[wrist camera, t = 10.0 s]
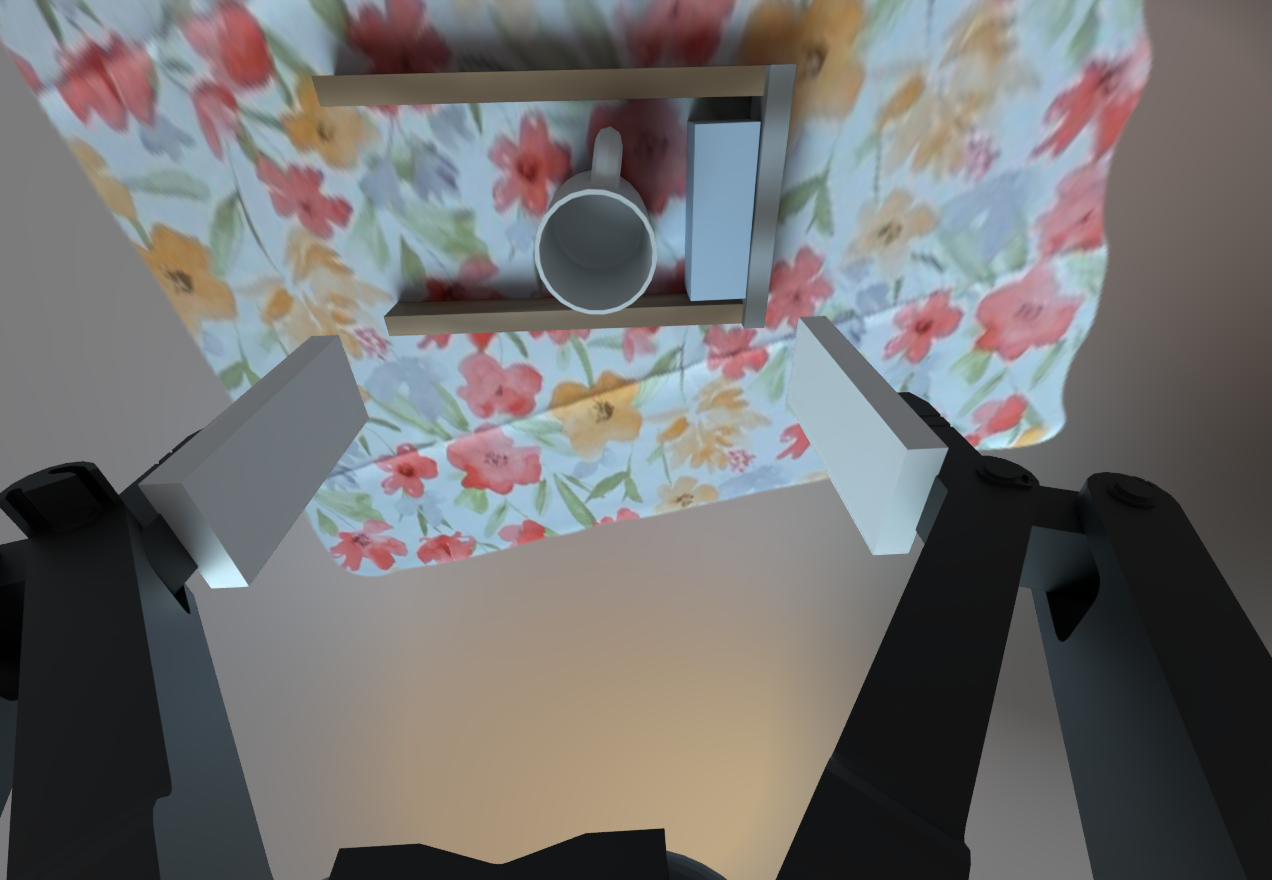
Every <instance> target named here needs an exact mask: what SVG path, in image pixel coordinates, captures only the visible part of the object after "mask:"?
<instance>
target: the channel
mask: <svg viewBox="0 0 1272 880" xmlns="http://www.w3.org/2000/svg"><path fill="white" fill-rule="evenodd" d="M796 65H797V64H782V65H759V66H716V67H674V68H631V69H589V70H546V71H504V72H461V73H419V74H376V75H334V76H311V77H312V80H313V83H314V86H315V90H316V93H317V96H318V100H319V103H320V106H321V107H330V106H370V105H410V104H450V103H490V102H530V101H570V100H610V99H650V98H690V97H730V96H752V103H751V115H750V119H751V120H755V121H759V122H761V124H760V136H759V147H758V159H757V171H756V182H755V194H754V206H753V217H752V229H751V241H750V252H749V264H748V276H747V287H746V298H743V299H723V300H702V301H691V300H690V298H689V295H688V293H666V294H642V295H641V296H640V297H639V298H638V299H637V300H636V301H635V302H633V303H632V304H631V305H629V306H627V307H625V308H623V309H621V310H620V311H616V312H612V313H608V314H587V313H583V312H579V311H576V310H573V309H572V308H570V307H568V306H566V305H564V304H563V303H561V302H560V301H559V300H558V299H557V298H556V297H550V298H521V299H492V300H463V301H434V302H405V303H397V304H396V305H395V306H394V307H393V308H392V309H391V310H390V311H389V312H388V313H387V314H386V315H385V316H384V319H385V322H386V326H387V329H388V332H389V336H404V335H432V334H460V333H487V332H515V331H542V330H570V329H598V328H625V327H653V326H681V325H708V324H736V323H742V325H743V327H744V328H764V325H765V317H766V309H767V301H768V293H769V285H770V277H771V268H772V260H773V252H774V244H775V236H776V228H777V220H778V211H779V203H780V195H781V187H782V179H783V171H784V163H785V154H786V146H787V138H788V130H789V122H790V114H791V106H792V97H793V89H794V81H795V73H796Z"/></svg>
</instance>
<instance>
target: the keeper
mask: <svg viewBox="0 0 1272 880" xmlns="http://www.w3.org/2000/svg"><path fill="white" fill-rule="evenodd" d="M760 124H761V122H759V121H755V120H751V119H724V120H700V121H687V169H686V223H685V277H684V285H685V288H686V290H687V293H688V295H689V298H690V300H691V301H702V300H723V299H743V298H746V287H747V276H748V264H749V252H750V241H751V229H752V217H753V206H754V194H755V182H756V171H757V159H758V147H759V136H760Z"/></svg>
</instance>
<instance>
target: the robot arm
mask: <svg viewBox="0 0 1272 880" xmlns="http://www.w3.org/2000/svg"><path fill="white" fill-rule="evenodd" d="M786 401H787V403H788V405H789V406H790V408H791V410H792V412H793V414H794V415H795V417H796V419H797V421H798V422H799V424H800V426H801V428H802V430H803V431H804V433H805V435H806V437H807V438H808V440H809V442H810V444H811V446H812V447H813V449H814V451H815V453H816V454H817V456H818V458H819V460H820V461H821V463H822V465H823V467H824V469H825V470H826V472H827V474H828V476H829V477H830V479H831V481H832V483H833V484H834V486H835V488H836V490H837V492H838V493H839V495H840V497H841V499H842V500H843V502H844V504H845V506H846V508H847V509H848V511H849V513H850V515H851V517H852V518H853V520H854V522H855V524H856V525H857V527H858V529H859V531H860V533H861V534H862V536H863V538H864V540H865V541H866V543H867V545H868V546H869V549H870V550H871V552H872V554H873V555H883V554H903V553H909V550H910V548H911V545H912V543H913V540H914V537H915V535H916V532H917V533H918V535H919V536H920V537H921V539H922V541H923V542H924V543H925V545H924V547H923V549H922V551H921V554H920V556H919V559H918V561H917V563H916V565H915V567H914V570H913V572H912V574H911V577H910V579H909V581H908V584H907V586H906V588H905V590H904V593H903V595H902V597H901V599H900V602H899V604H898V606H897V608H896V611H895V613H894V615H893V618H892V620H891V622H890V625H889V627H888V629H887V631H886V634H885V636H884V638H883V640H882V643H881V645H880V647H879V650H878V652H877V654H876V657H875V659H874V661H873V663H872V665H871V668H870V670H869V672H868V675H867V677H866V679H865V682H864V684H863V686H862V688H861V691H860V693H859V695H858V698H857V700H856V702H855V704H854V707H853V709H852V711H851V713H850V716H849V718H848V720H847V723H846V725H845V727H844V729H843V732H842V734H841V736H840V739H839V741H838V743H837V745H836V748H835V750H834V752H833V754H832V756H831V757H830V759H829V761H828V763H827V765H826V767H825V769H824V772H823V774H822V776H821V778H820V781H819V783H818V785H817V787H816V790H815V792H814V794H813V797H812V799H811V801H810V803H809V805H808V808H807V810H806V812H805V814H804V817H803V819H802V821H801V823H800V826H799V828H798V830H797V833H796V835H795V837H794V840H793V842H792V844H791V846H790V849H789V851H788V853H787V855H786V857H785V860H784V862H783V865H782V867H781V869H780V871H779V873H778V876H777V878H776V880H968V879H969V872H970V866H971V862H970V861H971V859H970V858H971V857H970V849H969V848H968V847H967V845H966V844H965V843H964V834H965V827H966V822H967V817H968V813H969V808H970V803H971V799H972V795H973V790H974V786H975V781H976V777H977V772H978V768H979V763H980V759H981V754H982V750H983V745H984V741H985V736H986V731H987V727H988V722H989V718H990V713H991V709H992V705H993V700H994V695H995V691H996V686H997V682H998V678H999V673H1000V669H1001V664H1002V659H1003V655H1004V650H1005V646H1006V641H1007V637H1008V632H1009V628H1010V623H1011V618H1012V614H1013V610H1014V605H1015V601H1016V596H1017V592H1018V587H1019V586H1021V587H1026V588H1031V590H1032V595H1033V599H1034V604H1035V609H1036V613H1037V618H1038V622H1039V627H1040V632H1041V637H1042V641H1043V646H1044V651H1045V655H1046V659H1047V664H1048V669H1049V674H1050V678H1051V683H1052V688H1053V692H1054V697H1055V702H1056V706H1057V711H1058V716H1059V720H1060V725H1061V730H1062V734H1063V739H1064V744H1065V748H1066V753H1067V757H1068V762H1069V767H1070V771H1071V776H1072V780H1073V785H1074V790H1075V794H1076V799H1077V804H1078V809H1079V813H1080V818H1081V822H1082V827H1083V832H1084V836H1085V841H1086V846H1087V850H1088V855H1089V859H1090V864H1091V869H1092V874H1093V878H1094V880H1272V657H1271V656H1270V654H1269V652H1268V651H1267V649H1266V647H1265V646H1264V644H1263V642H1262V641H1261V639H1260V637H1259V636H1258V634H1257V632H1256V631H1255V629H1254V627H1253V626H1252V624H1251V622H1250V621H1249V619H1248V618H1247V616H1246V614H1245V612H1244V611H1243V609H1242V608H1241V606H1240V604H1239V602H1238V601H1237V599H1236V597H1235V596H1234V594H1233V592H1232V591H1231V589H1230V587H1229V586H1228V584H1227V582H1226V581H1225V579H1224V577H1223V576H1222V574H1221V573H1220V571H1219V569H1218V568H1217V566H1216V564H1215V563H1214V561H1213V560H1212V558H1211V556H1210V554H1209V553H1208V551H1207V549H1206V548H1205V546H1204V544H1203V543H1202V541H1201V539H1200V538H1199V536H1198V534H1197V533H1196V531H1195V529H1194V528H1193V526H1192V524H1191V523H1190V521H1189V520H1188V518H1187V516H1186V514H1185V513H1184V511H1183V509H1182V508H1181V506H1180V504H1179V503H1178V502H1177V501H1176V500H1175V499H1174V498H1173V497H1172V496H1171V495H1170V494H1168V493H1167V492H1165V491H1164V490H1162V489H1161V488H1159V487H1158V486H1157V485H1155V484H1153V483H1151V482H1149V481H1145V480H1144V479H1141V478H1138V477H1135V476H1133V477H1132V476H1128V475H1124V474H1120V473H1110V472H1103V473H1096V474H1093V475H1092V476H1090V477H1089V478H1088V479H1087V480H1086V482H1085V484H1084V485H1083V487H1082V489H1081V490H1080V492H1078V491H1071V490H1063V489H1057V488H1051V487H1044V486H1040V485H1039V481H1038V480H1037V479H1036V477H1035V476H1034V475H1033V474H1032V473H1031V472H1030V471H1028V470H1026V469H1025V468H1023V467H1022V466H1020V465H1018V464H1015V463H1013V462H1011V461H1008V460H1006V459H1002V458H997V457H993V456H982V455H981V454H980V453H979V452H978V451H977V450H976V449H975V448H974V447H973V446H972V445H971V444H970V443H969V442H968V441H967V440H966V439H965V438H964V437H963V436H962V435H961V434H960V433H959V432H958V431H957V430H956V429H955V428H953V427H950V424H949V423H948V422H947V421H946V420H945V419H944V418H943V417H940V414H939V413H938V412H937V411H936V410H935V409H934V408H933V407H932V406H931V405H930V404H929V403H928V402H927V401H925V400H923V399H921V398H919V397H917V396H916V395H914V394H912V393H910V392H901V393H897V392H896V391H895V390H894V389H893V388H892V387H891V386H890V385H889V384H888V383H887V382H886V380H885V379H884V378H883V377H882V376H881V375H880V374H879V373H878V372H877V371H876V370H875V369H874V368H873V367H872V365H871V364H870V363H869V362H868V361H867V360H866V359H865V358H864V357H863V356H862V355H861V354H860V353H859V352H858V350H857V349H856V348H855V347H854V346H853V345H852V344H851V343H850V342H849V341H848V340H847V339H846V338H845V337H844V336H843V334H842V333H841V332H840V331H839V330H838V329H837V328H836V327H835V326H834V325H833V324H832V323H831V322H830V321H829V319H828V318H827V317H826V316H816V317H799V321H798V327H797V334H796V340H795V346H794V353H793V359H792V365H791V372H790V378H789V384H788V391H787V397H786ZM368 419H369V417H368V414H367V411H366V409H365V406H364V403H363V400H362V398H361V395H360V392H359V389H358V387H357V384H356V381H355V378H354V376H353V373H352V370H351V367H350V365H349V362H348V359H347V356H346V354H345V351H344V348H343V345H342V343H341V340H340V337H339V335H334V336H311V337H310V338H309V339H308V340H307V341H305V342H304V343H303V344H302V345H301V346H300V347H298V348H297V349H296V350H295V351H294V352H292V353H291V354H290V355H289V356H288V357H287V358H285V359H284V360H283V361H282V362H281V363H280V364H278V365H277V366H276V367H275V368H274V369H273V370H271V371H270V372H269V373H268V374H267V375H266V376H264V377H263V378H262V379H261V380H260V381H259V382H257V383H256V384H255V385H254V386H253V387H251V388H250V389H249V390H248V391H247V392H246V393H244V394H243V395H242V396H241V397H240V398H239V399H237V400H236V401H235V402H234V403H233V404H232V405H231V406H229V407H228V408H227V409H226V410H225V411H223V412H222V413H221V414H220V415H219V416H218V417H216V418H215V419H214V420H213V421H212V422H211V423H209V424H208V425H207V426H206V427H205V428H203V429H201V430H199V431H197V432H195V433H193V434H192V435H190V436H188V437H187V438H186V439H185V440H184V441H182V442H181V443H180V444H179V445H177V446H176V447H175V448H174V449H173V450H172V453H168V454H167V455H166V456H164V457H163V458H162V459H161V460H160V461H159V464H155V465H154V466H152V467H151V468H150V469H149V470H148V471H146V472H145V473H144V474H143V475H142V476H141V477H139V478H138V479H137V480H136V481H135V482H133V483H132V484H131V485H130V486H129V487H127V488H126V489H125V490H124V491H123V492H122V493H120V494H119V495H118V494H117V492H116V491H115V490H114V488H113V487H112V486H111V484H110V483H109V482H108V480H107V479H106V478H105V476H104V475H103V474H102V472H101V471H100V470H99V469H98V467H97V466H96V465H95V464H94V463H90V462H84V461H82V462H72V463H65V464H61V465H57V466H54V467H49V468H46V469H44V470H41V471H39V472H36V473H33V474H31V475H28V476H26V477H25V478H23V479H21V480H19V481H17V482H15V483H13V484H12V485H10V486H9V487H8V488H6V489H5V490H4V491H2V492H1V493H0V508H1V509H2V510H3V511H4V512H5V513H6V514H7V516H8V517H9V518H10V519H11V520H12V521H13V522H14V523H15V524H16V525H17V526H18V527H19V528H20V529H21V531H22V532H23V533H24V534H25V535H26V536H27V537H28V539H24V540H20V541H15V542H11V543H7V544H2V545H0V817H1V814H2V812H3V809H4V806H5V804H6V802H7V799H8V796H9V794H10V791H11V789H12V803H11V817H10V834H9V849H8V864H7V865H8V866H7V880H274V879H273V876H272V873H271V871H270V867H269V864H268V860H267V857H266V853H265V849H264V846H263V842H262V839H261V835H260V832H259V828H258V824H257V821H256V817H255V813H254V810H253V806H252V803H251V799H250V795H249V792H248V789H247V785H246V781H245V778H244V774H243V770H242V767H241V763H240V759H239V756H238V753H237V749H236V745H235V741H234V738H233V734H232V731H231V727H230V723H229V720H228V716H227V713H226V709H225V706H224V702H223V698H222V695H221V691H220V688H219V684H218V680H217V677H216V674H215V670H214V666H213V663H212V659H211V655H210V652H209V648H208V644H207V641H206V637H205V634H204V630H203V626H202V623H201V619H200V616H199V612H198V608H197V605H196V601H195V598H194V595H193V594H192V592H191V591H190V590H189V588H188V587H187V586H186V584H185V582H186V581H187V580H188V579H189V577H190V576H191V575H192V574H193V573H194V571H195V570H196V569H198V570H199V572H200V573H201V574H202V576H203V577H204V578H205V580H206V581H207V583H208V584H209V585H210V587H211V588H228V587H245V586H246V587H248V586H250V584H251V583H252V582H253V580H254V579H255V577H256V576H257V574H258V573H259V572H260V570H261V569H262V568H263V566H264V565H265V563H266V562H267V560H268V559H269V558H270V556H271V555H272V554H273V552H274V551H275V549H276V548H277V547H278V545H279V544H280V542H281V541H282V539H283V538H284V537H285V535H286V534H287V532H288V531H289V530H290V528H291V527H292V525H293V524H294V523H295V521H296V520H297V518H298V517H299V515H300V514H301V513H302V511H303V510H304V509H305V507H306V506H307V504H308V503H309V502H310V500H311V499H312V497H313V496H314V495H315V493H316V492H317V490H318V489H319V488H320V486H321V485H322V483H323V482H324V481H325V479H326V478H327V476H328V475H329V474H330V472H331V471H332V469H333V468H334V467H335V465H336V464H337V462H338V461H339V460H340V458H341V457H342V455H343V454H344V453H345V451H346V450H347V448H348V447H349V446H350V444H351V443H352V441H353V440H354V438H355V437H356V436H357V434H358V433H359V431H360V430H361V429H362V427H363V426H364V424H365V423H366V422H367V420H368ZM323 880H727V879H725V878H724V877H723V876H722V875H720V874H719V873H717V872H715V871H714V870H712V869H710V868H709V867H707V866H706V865H704V864H702V863H700V862H698V861H695V860H693V859H691V858H688V857H686V856H684V855H680V854H677V853H673V852H670V851H666V843H665V830H664V828H663V829H648V830H632V831H631V830H630V831H614V832H599V833H585V834H582V835H580V836H577V837H574V838H572V839H569V840H566V841H564V842H561V843H558V844H556V845H553V846H551V847H548V848H545V849H542V850H540V851H537V852H534V853H532V854H529V855H526V856H524V857H521V858H518V859H516V860H513V861H510V862H507V863H504V864H492V863H488V862H484V861H481V860H477V859H474V858H470V857H466V856H462V855H459V854H456V853H452V852H448V851H445V850H441V849H437V848H433V847H430V846H427V845H423V844H405V845H391V846H373V847H357V848H341V849H339V851H338V854H337V857H336V860H335V863H334V866H333V869H332V872H331V874H330V877H328V878H325V879H323Z"/></svg>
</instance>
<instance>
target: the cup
mask: <svg viewBox="0 0 1272 880" xmlns="http://www.w3.org/2000/svg"><path fill="white" fill-rule="evenodd" d="M622 151H623V145H622V141H621V136H620V133H619V132H618V131H616V130H615V129H614V128H612V127H611V126H610V127H607V128H603V129H600V131H599V133H598V135H597V137H596V139H595V145H594V153H593V162H592V170H589V171H585V172H581V173H578V174H576V175H575V176H573V177H571V178H570V179H568V180H567V181H565V183H564V184H563V185H562V186H561V187H560V188H559V189H558V190H557V191H556V193H555V195H554V197H553V199H552V201H551V203H550V205H549V207H548V210H547V212H546V214H545V216H544V218H543V220H542V222H541V224H540V226H539V228H538V231H537V236H536V241H535V246H534V247H535V260H536V265H537V268H538V271H539V274H540V277H541V279H542V281H543V282H544V284H545V285H546V287H547V289H548V290H549V292H550V293H551V294H552V295H554V296H555V297H556V298H557V299H558V300H559V301H560V302H561V303H563V304H564V305H566V306H568V307H570V308H572V309H573V310H576V311H579V312H583V313H587V314H608V313H612V312H616V311H620V310H621V309H623V308H625V307H627V306H629V305H631V304H632V303H633V302H635V301H636V300H637V299H638V298H639V297H640V296H641V295H642V294H643V293H644V291H645V290H646V288H647V287H648V285H649V283H650V282H651V280H652V277H653V274H654V271H655V268H656V261H657V246H656V241H655V236H654V232H653V229H652V225H651V222H650V219H649V216H648V213H647V210H646V207H645V205H644V203H643V200H642V198H641V196H640V194H639V193H638V192H637V191H636V190H635V188H634V187H633V186H632V185H631V184H630V183H629V182H628V181H627V180H625V179H624V178H622V177H621V176H620V172H621V163H622Z"/></svg>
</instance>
